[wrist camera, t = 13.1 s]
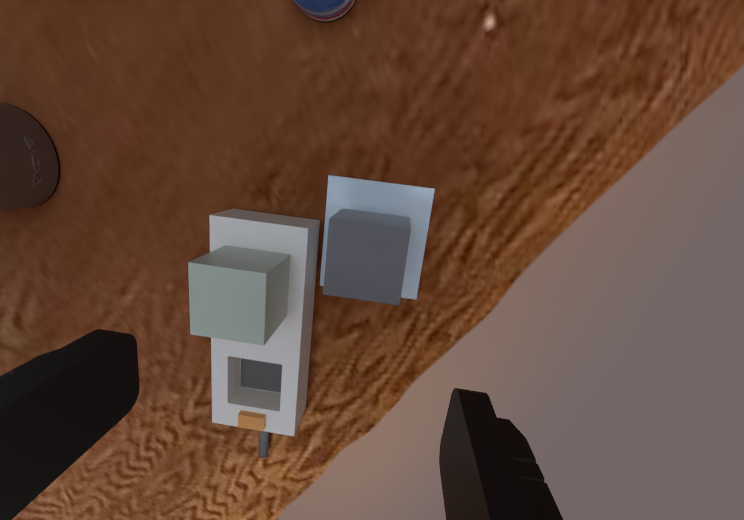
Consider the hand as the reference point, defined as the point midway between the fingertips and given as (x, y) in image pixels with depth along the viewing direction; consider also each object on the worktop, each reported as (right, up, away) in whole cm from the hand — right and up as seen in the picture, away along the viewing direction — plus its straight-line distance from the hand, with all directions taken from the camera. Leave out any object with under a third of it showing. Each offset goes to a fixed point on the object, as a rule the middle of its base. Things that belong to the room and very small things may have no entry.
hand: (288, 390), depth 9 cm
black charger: (+2, +5, +22) cm, 23 cm away
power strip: (-8, -5, +26) cm, 28 cm away
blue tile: (+2, +5, +22) cm, 23 cm away
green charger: (-7, +2, +22) cm, 24 cm away
